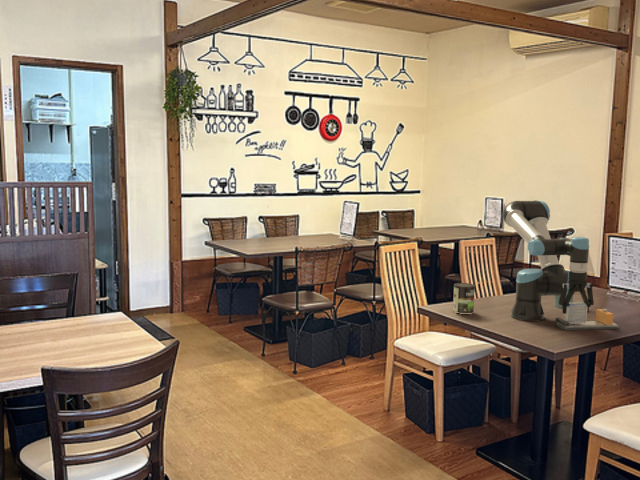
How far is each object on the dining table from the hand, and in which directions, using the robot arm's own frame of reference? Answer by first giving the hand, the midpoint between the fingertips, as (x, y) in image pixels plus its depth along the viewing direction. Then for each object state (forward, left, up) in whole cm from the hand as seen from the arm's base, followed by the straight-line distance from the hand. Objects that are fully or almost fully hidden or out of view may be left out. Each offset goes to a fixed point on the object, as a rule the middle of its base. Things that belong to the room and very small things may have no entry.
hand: (575, 320), depth 282 cm
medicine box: (0, 0, -1) cm, 1 cm away
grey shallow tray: (+6, 0, -3) cm, 7 cm away
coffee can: (-42, +31, -4) cm, 52 cm away
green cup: (+14, +38, -4) cm, 41 cm away
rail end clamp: (+14, 0, -1) cm, 14 cm away
